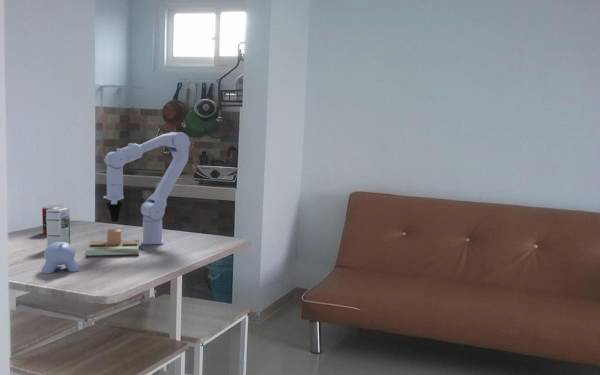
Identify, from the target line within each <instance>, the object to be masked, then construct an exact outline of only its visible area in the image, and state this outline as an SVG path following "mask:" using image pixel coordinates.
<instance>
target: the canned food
mask: <svg viewBox="0 0 600 375" xmlns="http://www.w3.org/2000/svg"><path fill="white" fill-rule="evenodd" d="M60 207H62V208H64V205H60V204H59V205H58V204H54V205H53V204H51V205H50V204H49V205H43V206H42V208H41V209H42V210H41V211H42V213H41V214H42V233H43V234H44V235H47V220H46V210H48V209H53V208H60Z"/></svg>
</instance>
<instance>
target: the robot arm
mask: <svg viewBox="0 0 600 375" xmlns="http://www.w3.org/2000/svg"><path fill="white" fill-rule="evenodd" d="M163 146H165V147H167V148H168V149H169V151H170V153H171V156H172V160H171V161H170V164H169V166H168V168H167V169H166V170H165V172H164V174H163V176H162V178H161V179H160V181H159V183H158V185H157V187H156V189H155V190H154V192H153V193H152V194H151V195H150V196H148V198H147V199H146V200H145V202H143V203H142V204H141V206H140V213H141V214H142V216H143V217H142V238H141V245H163V244H164V239H163V218H164V216H165V213H166V212H165V210H166V207H167V206H168V205H167V202H168V201H167V199H168V197H169V195H171V192H172V191H173V188H174V186H175V185H176V183H177V182H178V179H179V177H180V175H181V174H182V173H183V170H184V168H185V167H186V165H187V163H188V161H189V154H190V153H189V152H190V146H191V141H190V138H189V136H188V135H187V134H186V133H184V132H174V131H170V132H168V133H163V134H161V135H159V136H156V137H154V138H152V139H150V140H147V141H145V142H142V143H141V144H137V142H134V143H133V142H130V143H128V144H127V145H126V146H125V147H121V148H118V147H117V148H116V151H110V152H108V153H107V154H106V155H105V157H104V159H103V161H104V164H105V165H106V195H104V196H103V199H106V200H109V201H106V205H107V207H108V210H109V213H110V220H111V222H112V223H113V222H119V218H120V214H121V208H122V207H123V205H124V200H123V199H124V198H125V197H124V174H123V173H124V170H123V169H124V166H125V164H129V163H130V162H134V161H136V160H138V159H140V158H142V156H143V154H144V153H146V152H150V151H151V150H154V149H156V148H160V147H163Z"/></svg>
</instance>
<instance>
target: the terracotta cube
mask: <svg viewBox="0 0 600 375" xmlns="http://www.w3.org/2000/svg"><path fill="white" fill-rule="evenodd" d="M106 233H107V235H106V236H107V239H106V240H107V244H121V240H122V229H107V232H106Z"/></svg>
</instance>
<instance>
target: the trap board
mask: <svg viewBox="0 0 600 375" xmlns="http://www.w3.org/2000/svg"><path fill="white" fill-rule="evenodd" d="M139 252H140V240H139V239H121V244H107V239H105V240H90V241H89V244H88V246H87V248H86V258H98V257H99V258H103V257H104V258H107V257H139V254H140V253H139Z"/></svg>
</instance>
